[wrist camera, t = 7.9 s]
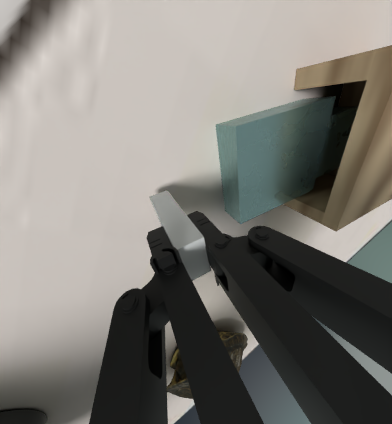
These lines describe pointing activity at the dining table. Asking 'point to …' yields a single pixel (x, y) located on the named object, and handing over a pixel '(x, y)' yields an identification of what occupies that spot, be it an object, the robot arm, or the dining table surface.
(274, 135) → the teal tabbed plate
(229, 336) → the turtle shell
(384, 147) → the overhang
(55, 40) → the dining table surface
